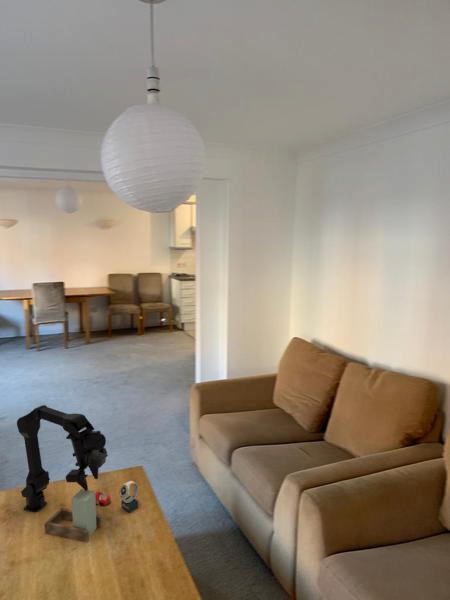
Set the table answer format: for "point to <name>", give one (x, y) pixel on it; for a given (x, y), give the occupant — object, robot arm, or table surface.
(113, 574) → the table surface
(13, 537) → the table surface
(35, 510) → the robot arm
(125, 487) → the watch
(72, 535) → the brown rectangular frame
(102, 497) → the race car
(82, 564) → the table surface
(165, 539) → the table surface
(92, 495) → the block
